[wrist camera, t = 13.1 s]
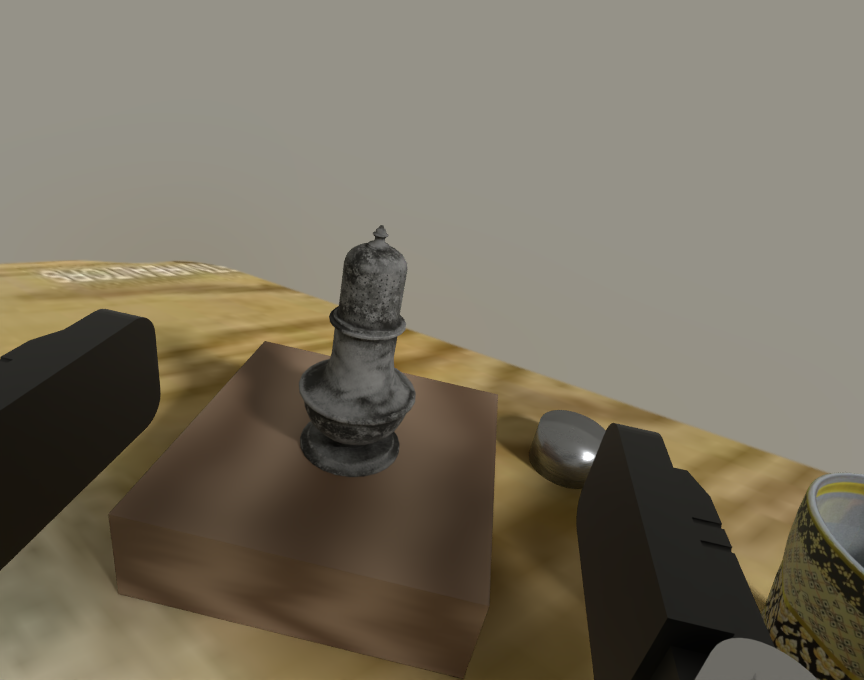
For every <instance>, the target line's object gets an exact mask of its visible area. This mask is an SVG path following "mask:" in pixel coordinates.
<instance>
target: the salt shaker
mask: <svg viewBox="0 0 864 680" xmlns="http://www.w3.org/2000/svg"><path fill="white" fill-rule="evenodd" d="M373 234H374V236H375V240H374V241H370V242H369V243H364V244H360V245H358V246H356V247H354V248H352V249H351V250H350V251H349V252H348V253H347V255H346V258H345V261H344V268H343V276H342V284H341V294H340V302H339V306H338V307H336V308H335V309H334V310H332V311H331V313H330V316H329V318H330V322H331V324H332V325H333V326H334V327H335V331H334V340H333V349H332V354H331V357H330V359H327V360H323V361H320V362H318V363H316V364H314V365H312V366H310V367H309V368H308V369H307V370H306V371H305V372H304V373H303V374H302V376H301V378H300V381H299V393H300V395H301V397H302V399H303V400H304V404H305V408H306V411H307V413H308V416H309V418H310V420H311V421H310V422H309V423H308V424H307V425H306V426H305V427H304V429H303V431H302V433H301V436H300V448H301V450H302V452H303V454H304V456H305V457H306V458H307V459H308V460H309V461H310V462H311V463H312V464H313V465H315V466H316V467H318V468H320V469H321V470H323V471H326V472H329V473H331V474H334V475H339V476H346V477H364V476H368V475H373V474H377V473H379V472H381V471H383V470H385V469H387V468H388V467H389V466H390V465H391V464H392V463H394V462H395V460H396V458H397V456H398V454H399V446H400V443H399V440H398V436H397V435H396V433H395V432H394V431H395V430H396V429H397V427H398V426H399V425H400V423H401V422H402V420H403V419H404V417H405V415H406V413H408V412H409V411H410V410H411V408H412V406H413V405H414V403H415V396H416V392H415V389H414V387H413V384H412V383H411V381H410V380H409V379H408V378H407V377H406V376H405V375H404V374H403V373H401V372H400V371H399V370H397V369H396V368H394V352H395V347H396V341H397V336H399V335H400V334H402V333H403V332H404V330H405V327H406V323H405V321H404V319H403V318H402V317H401V316H400V308H401V303H402V297H403V291H404V286H405V280H406V274H407V263H406V261H405V259H404V257H403V255H402V254H401V253H400V252H399V251H397V250H396V249H395V248H393V247H391V246H389V244H387V243H386V242H385V238H386V237H388V234H387V233H386V230H385V229H384V226H383V225H381V226H380V227H379V228H377V229H376V232H373Z"/></svg>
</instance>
